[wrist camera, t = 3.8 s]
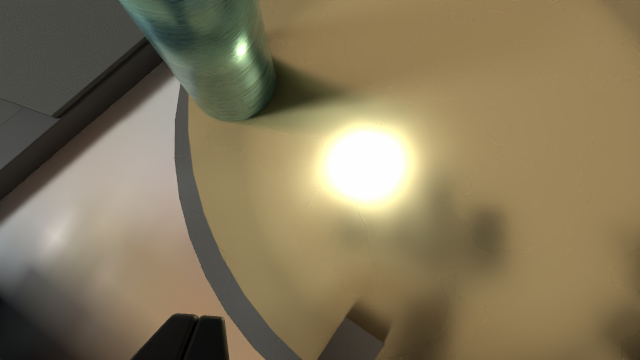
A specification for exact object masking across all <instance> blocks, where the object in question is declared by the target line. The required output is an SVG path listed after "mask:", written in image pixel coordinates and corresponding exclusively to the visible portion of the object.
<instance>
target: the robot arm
mask: <svg viewBox="0 0 640 360" xmlns="http://www.w3.org/2000/svg"><path fill="white" fill-rule="evenodd" d="M130 360H229V353H228V345H227V336H226V328H225V320H224V318H223V317H218V316H206V315H204V316H201V317H200V318H199V317H198V316H197V315H193V314H180V313H177V314H174V315H172V316H171V317H170V318H169V319H168V320H167V321H166V322H165V323H164V324H163V325H162V326H161V327H160V328H159V329H158V331H157V332H156V333H155V334H154V335H153V336H152V337H151V338H150V339H149V340H148V341H147V342H146V343H145V344H144V345H143V347H142V348H141V349H140V350H139V351H138V352H137V353H136V354H135V355H134V356H133V357H132V358H131V359H130Z"/></svg>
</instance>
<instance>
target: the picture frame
mask: <svg viewBox="0 0 640 360" xmlns="http://www.w3.org/2000/svg"><path fill="white" fill-rule="evenodd" d="M161 62H163V59H162V58H161V57H160V55H159V54H158V53H157V51H156V50H155V49H154V47H153V46H152V45H151V43H150V42H149V41H148V39H147V38H146V37H145V35H144V34H143V33H142V31H141V30H140V29H139V27H138V26H137V25H136V23H135V22H134V21H133V19H132V18H131V17H130V15H129V14H128V13H127V11H126V10H125V9H124V7H123V6H122V5H121V3H120V2H119V1H118V0H0V200H2V199H3V198H4V197H5V196H6V195H7V194H9V193H10V192H11V191H12V190H13V189H14V188H16V187H17V186H18V185H19V184H20V183H21V182H23V181H24V180H25V179H26V178H27V177H28V176H30V175H31V174H32V173H33V172H34V171H35V170H37V169H38V168H39V167H40V166H41V165H42V164H44V163H45V162H46V161H47V160H48V159H49V158H51V157H52V156H53V155H54V154H55V153H56V152H58V151H59V150H60V149H61V148H62V147H63V146H65V145H66V144H67V143H68V142H69V141H70V140H72V139H73V138H74V137H75V136H76V135H77V134H79V133H80V132H81V131H82V130H83V129H84V128H86V127H87V126H88V125H89V124H90V123H91V122H93V121H94V120H95V119H96V118H97V117H98V116H100V115H101V114H102V113H103V112H104V111H105V110H107V109H108V108H109V107H110V106H111V105H112V104H114V103H115V102H116V101H117V100H118V99H119V98H121V97H122V96H123V95H124V94H125V93H126V92H128V91H129V90H130V89H131V88H132V87H133V86H135V85H136V84H137V83H138V82H139V81H140V80H142V79H143V78H144V77H145V76H146V75H147V74H149V73H150V72H151V71H152V70H153V69H154V68H156V67H157V66H158V65H159V64H160V63H161Z"/></svg>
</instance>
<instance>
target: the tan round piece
mask: <svg viewBox="0 0 640 360" xmlns="http://www.w3.org/2000/svg"><path fill="white" fill-rule="evenodd" d="M118 1H119V2H120V3H121V5H122V6H123V7H124V9H125V10H126V11H127V13H128V14H129V15H130V17H131V18H132V19H133V21H134V22H135V23H136V25H137V26H138V27H139V29H140V30H141V31H142V33H143V34H144V35H145V37H146V38H147V39H148V41H149V42H150V43H151V45H152V46H153V47H154V49H155V50H156V51H157V53H158V54H159V55H160V57H161V58H162V59H163V61H164V62H165V63H166V64H167V66H168V67H169V68H170V70H171V71H172V72H173V74H174V75H175V76H176V78H177V79H178V80H179V82H180V83H181V84H182V86H183V87H184V88H185V90H186V91H187V92H188V94H189V101H188V134H189V142H190V150H191V158H192V166H193V173H194V177H195V181H196V185H197V188H198V192H199V196H200V200H201V203H202V207H203V211H204V215H205V217H206V220H207V222H208V224H209V227H210V229H211V231H212V234H213V236H214V239H215V241H216V243H217V246H218V248H219V251H220V253H221V255H222V257H223V259H224V261H225V262H226V264H227V266H228V267H229V269H230V271H231V273H232V274H233V276H234V278H235V279H236V281H237V283H238V285H239V286H240V288H241V290H242V291H243V293H244V295H245V296H246V297H247V299H248V300H249V301H250V302H251V304H252V305H253V306H254V308H255V309H256V310H257V311H258V313H259V314H260V315H261V316H262V318H263V319H264V320H265V322H266V323H267V324H268V325H269V327H270V328H271V329H272V331H273V332H274V333H275V334H276V335H277V336H278V337H280V338H281V339H282V340H283V341H284V342H285V343H286V344H287V345H288V346H289V347H290V348H291V349H292V350H293V351H294V352H295V353H296V354H297V355H298V356H299V357H300V358H301V359H302V360H640V0H118Z"/></svg>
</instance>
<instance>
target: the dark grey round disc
mask: <svg viewBox="0 0 640 360" xmlns="http://www.w3.org/2000/svg"><path fill="white" fill-rule="evenodd" d="M188 101H189V94H188V92H187V91H186V90H185V88H184V87H183V86H182V84H180V91H179V97H178V104H177V111H176V118H175V166H176V174H177V183H178V191H179V199H180V203H181V206H182V210H183V214H184V218H185V222H186V225H187V229H188V233H189V237H190V240H191V242H192V245H193V247H194V249H195V252H196V254H197V257H198V259H199V262H200V264H201V267H202V269H203V271H204V274H205V276H206V278H207V280H208V281H209V283H210V285H211V287H212V288H213V290H214V292H215V294H216V295H217V297H218V299H219V301H220V302H221V304H222V306H223V307H224V309H225V311H226V313H227V314H228V315H229V317H230V318H231V319H232V320H233V322H234V323H235V324H236V326H237V327H238V328H239V330H240V331H241V332H242V333H243V335H244V336H245V337H246V339H247V340H248V341H249V343H250V344H251V345H252V346H253V348H254V349H255V350H256V351H257V352H258V353H259V354H261V355H262V356H263V357H264V358H265V359H266V360H302V359H301V358H300V357H299V356H298V355H297V354H296V353H295V352H294V351H293V350H292V349H291V348H290V347H289V346H288V345H287V344H286V343H285V342H284V341H283V340H282V339H281V338H280V337H278V336H277V335H276V334H275V333H274V332H273V331H272V329H271V328H270V327H269V325H268V324H267V323H266V322H265V320H264V319H263V318H262V316H261V315H260V314H259V313H258V311H257V310H256V309H255V308H254V306H253V305H252V304H251V302H250V301H249V300H248V299H247V297H246V296H245V295H244V293H243V291H242V290H241V288H240V286H239V285H238V283H237V281H236V279H235V278H234V276H233V274H232V273H231V271H230V269H229V267H228V266H227V264H226V262H225V261H224V259H223V257H222V255H221V253H220V251H219V248H218V246H217V243H216V241H215V239H214V236H213V234H212V231H211V229H210V227H209V224H208V222H207V220H206V217H205V215H204V211H203V207H202V203H201V200H200V196H199V192H198V188H197V185H196V181H195V177H194V173H193V166H192V158H191V150H190V142H189V134H188Z"/></svg>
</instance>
